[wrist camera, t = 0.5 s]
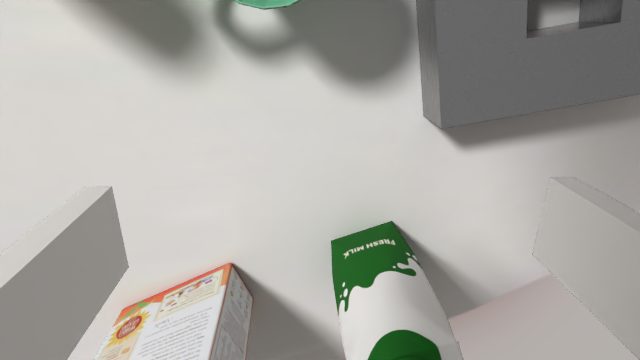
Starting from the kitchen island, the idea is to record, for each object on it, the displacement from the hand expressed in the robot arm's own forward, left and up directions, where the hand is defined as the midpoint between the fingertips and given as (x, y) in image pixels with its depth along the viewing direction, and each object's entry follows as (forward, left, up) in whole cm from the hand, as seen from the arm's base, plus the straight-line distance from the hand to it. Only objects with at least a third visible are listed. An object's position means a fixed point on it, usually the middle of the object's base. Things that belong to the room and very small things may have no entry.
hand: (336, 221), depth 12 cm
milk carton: (+20, +4, -27) cm, 34 cm away
